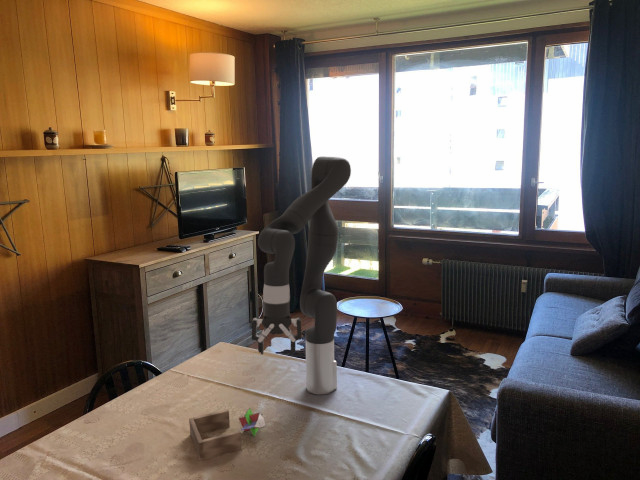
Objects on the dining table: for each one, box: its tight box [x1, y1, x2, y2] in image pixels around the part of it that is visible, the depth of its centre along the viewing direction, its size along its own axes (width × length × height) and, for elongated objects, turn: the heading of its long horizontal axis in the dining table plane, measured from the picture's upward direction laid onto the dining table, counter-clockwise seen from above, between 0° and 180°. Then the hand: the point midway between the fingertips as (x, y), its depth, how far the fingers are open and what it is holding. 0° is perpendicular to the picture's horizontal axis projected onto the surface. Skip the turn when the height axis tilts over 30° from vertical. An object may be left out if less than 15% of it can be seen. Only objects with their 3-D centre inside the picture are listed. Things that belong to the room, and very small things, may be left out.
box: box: [188, 409, 242, 461], centre depth 140 cm, size 11×13×5 cm
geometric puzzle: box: [238, 407, 266, 437], centre depth 144 cm, size 7×7×8 cm
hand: (276, 353), depth 149 cm, fingers open, 8 cm apart
